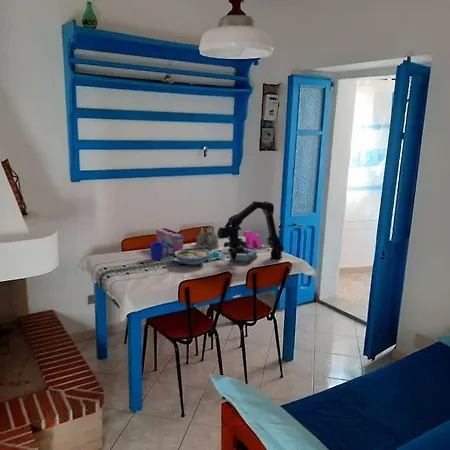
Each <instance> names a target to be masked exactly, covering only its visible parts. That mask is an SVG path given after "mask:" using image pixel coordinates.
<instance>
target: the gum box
mask: <svg viewBox="0 0 450 450" xmlns="http://www.w3.org/2000/svg"><path fill="white" fill-rule="evenodd" d="M155 230H156V243H162V244H163V246H168V254H171V255H173V254H175V252H176V251H172V250H180V249H184V234H183V233H180V232H178V231H173V230H171V229H170V228H169V229H168V228H166V227H165V228H162V229H155ZM163 252H166V253H167V247H163Z"/></svg>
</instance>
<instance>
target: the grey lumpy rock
mask: <svg viewBox="0 0 450 450" xmlns="http://www.w3.org/2000/svg"><path fill="white" fill-rule="evenodd" d="M211 225H212V224H209V225H208V227H207V228H206V229H205V230H206V231H204V227H201V228H200V232H199V234H198V235H197V237H196V242H195V246H196V247H197V248H201V247H209V248H210V249H211V250H213V249H218V248H219V238H218V234H214V233H215V232H214V227H212V226H211ZM210 249H209V250H210Z"/></svg>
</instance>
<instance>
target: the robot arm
mask: <svg viewBox="0 0 450 450" xmlns="http://www.w3.org/2000/svg"><path fill="white" fill-rule="evenodd" d="M257 209H261V210H262V212H263V214H264V215H265V220H266V225H267V230H268V234H269V236H268V237H267V238H266V240H267V245H268V246H270V249H271V250H270V259H272V260H278V261H280V260H281V259H282V258H283V256H282V255H283V251H284V250H285V247H284V246H283V245H282V243H281V240H280V237H279V236H278V234H277V230H276V225H275V224H276V223H275V219H274V212H275V208H274V204H273V203H272V202H269V201H263V202H262V201H256V200H254V201H252V203H250V204H249V205H247V207H246V208H244V209H243V210H242V211H240V212H238V213H236V214H234V215H231V216H230V217H229V218H228V220H227V222H226V223H225V225H224V227H219V228H218V230H217V234H216V235H217V237H218V240H219V239H220V240H221V239H228V241H226V242H224V243H223V247H224V248H228V249H227V251H228V253H229V256H230V255H231V257H232V259H233V261H234V260H235V258H236V255H237V253H244V250H245V249H246V248H247V247H246V244H247V243H246V242H244V241H245V240H243V238H241V237H240V238H239V231H241V230H242V227H240V225H242V223H243V221H244V220H245V219H246V218H247V217H248V216H249V215H251V214H252V213H254V212H255V211H256V210H257Z"/></svg>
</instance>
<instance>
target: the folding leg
mask: <svg viewBox="0 0 450 450" xmlns="http://www.w3.org/2000/svg"><path fill="white" fill-rule="evenodd" d="M230 260H233V259H232V257H231V255H230V254H229V261H230ZM235 260H245V261H250V260H251V254H237V255H236V258H235Z"/></svg>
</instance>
